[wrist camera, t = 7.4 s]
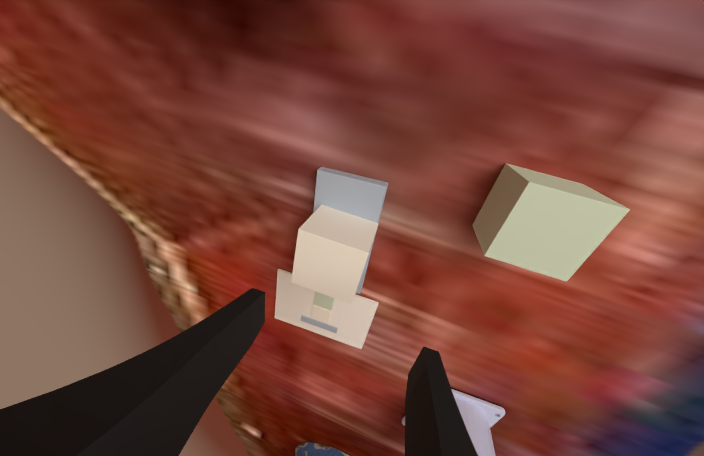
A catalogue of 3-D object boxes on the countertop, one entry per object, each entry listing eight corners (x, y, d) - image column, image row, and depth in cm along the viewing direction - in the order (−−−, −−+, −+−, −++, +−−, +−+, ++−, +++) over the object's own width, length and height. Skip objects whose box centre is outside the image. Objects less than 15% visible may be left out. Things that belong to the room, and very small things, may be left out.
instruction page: (361, 347, 26) (361, 350, 26) (275, 316, 27) (274, 318, 27) (378, 302, 23) (378, 304, 22) (278, 268, 24) (277, 270, 24)
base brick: (363, 282, 23) (360, 293, 22) (313, 267, 24) (306, 277, 22) (389, 180, 18) (387, 186, 17) (324, 164, 19) (317, 169, 17)
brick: (363, 269, 20) (351, 304, 17) (312, 251, 21) (291, 282, 17) (378, 223, 18) (368, 252, 15) (321, 204, 18) (298, 228, 15)
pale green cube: (537, 244, 17) (566, 281, 14) (471, 224, 17) (484, 256, 14) (581, 183, 15) (630, 209, 11) (505, 162, 15) (529, 182, 12)
